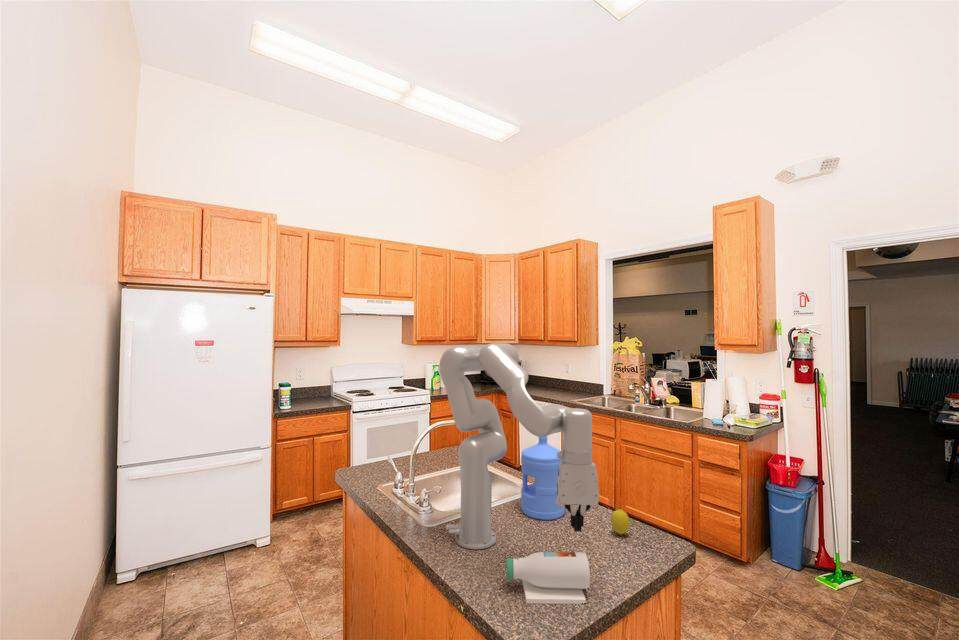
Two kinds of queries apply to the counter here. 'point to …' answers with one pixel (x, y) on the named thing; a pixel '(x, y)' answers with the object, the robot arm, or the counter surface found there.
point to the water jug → (540, 481)
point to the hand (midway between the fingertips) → (576, 529)
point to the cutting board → (552, 595)
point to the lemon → (620, 521)
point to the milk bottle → (552, 569)
